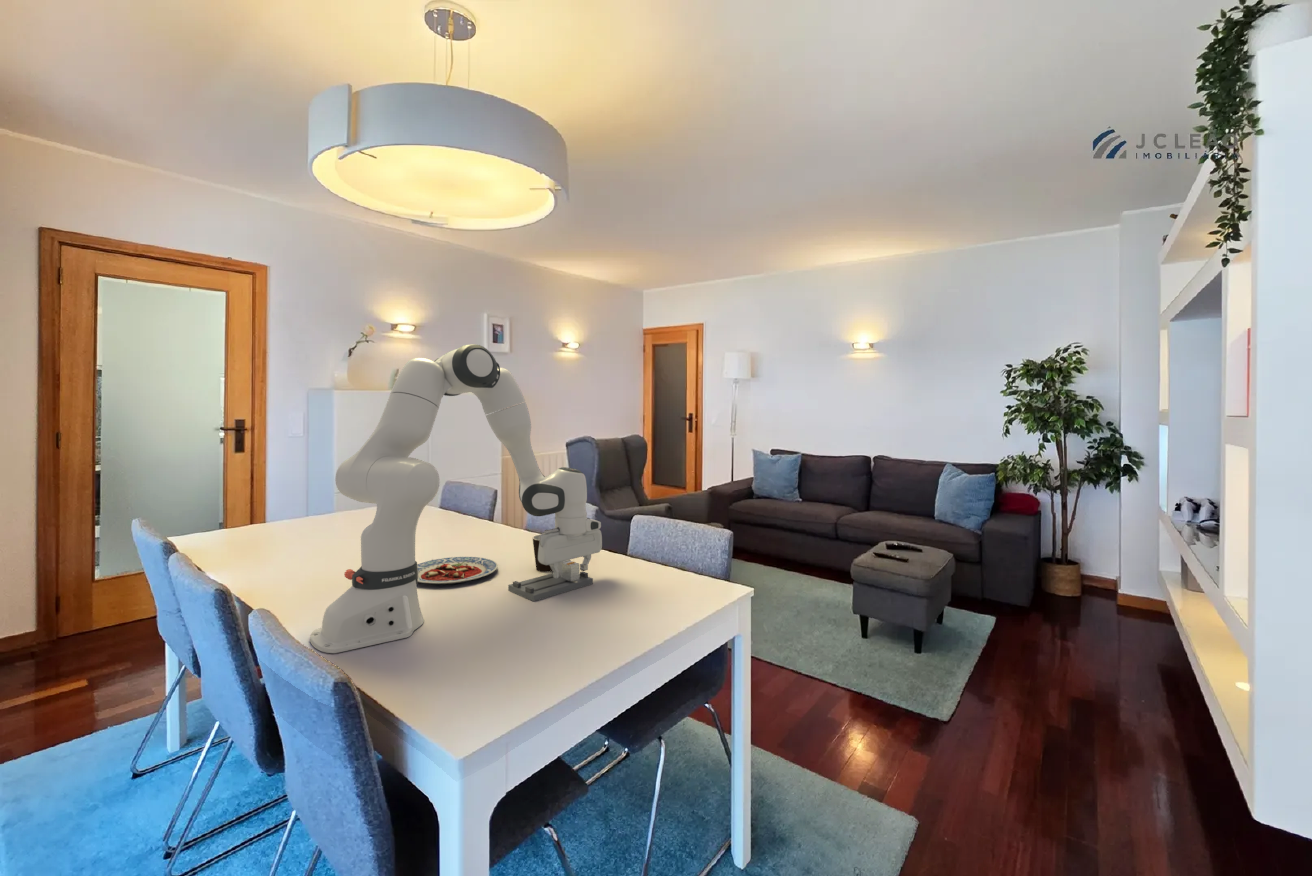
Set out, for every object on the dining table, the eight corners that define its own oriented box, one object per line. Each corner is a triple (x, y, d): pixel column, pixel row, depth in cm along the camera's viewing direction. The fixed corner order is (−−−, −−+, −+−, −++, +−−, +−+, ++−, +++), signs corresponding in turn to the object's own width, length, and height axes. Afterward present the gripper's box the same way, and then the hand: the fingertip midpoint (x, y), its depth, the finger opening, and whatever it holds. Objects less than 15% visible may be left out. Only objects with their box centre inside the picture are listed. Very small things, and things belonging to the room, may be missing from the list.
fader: (570, 581, 151) (570, 565, 151) (562, 578, 154) (562, 562, 154) (579, 579, 154) (579, 563, 153) (570, 576, 156) (570, 560, 156)
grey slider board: (533, 601, 141) (533, 578, 141) (508, 590, 150) (508, 569, 149) (592, 583, 156) (592, 563, 156) (566, 574, 164) (566, 555, 164)
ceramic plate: (469, 593, 148) (468, 582, 148) (385, 586, 153) (385, 575, 153) (512, 566, 173) (512, 557, 173) (439, 561, 178) (439, 552, 178)
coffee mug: (527, 571, 167) (527, 539, 167) (541, 563, 175) (541, 533, 175) (561, 575, 164) (561, 542, 163) (574, 567, 172) (574, 535, 172)
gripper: (546, 533, 143) (546, 584, 144) (605, 521, 158) (605, 568, 159) (533, 529, 148) (533, 579, 148) (591, 518, 163) (591, 564, 163)
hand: (570, 573), depth 154 cm, fingers open, 8 cm apart
